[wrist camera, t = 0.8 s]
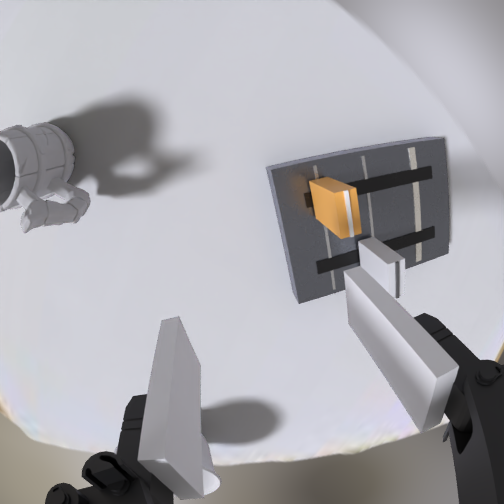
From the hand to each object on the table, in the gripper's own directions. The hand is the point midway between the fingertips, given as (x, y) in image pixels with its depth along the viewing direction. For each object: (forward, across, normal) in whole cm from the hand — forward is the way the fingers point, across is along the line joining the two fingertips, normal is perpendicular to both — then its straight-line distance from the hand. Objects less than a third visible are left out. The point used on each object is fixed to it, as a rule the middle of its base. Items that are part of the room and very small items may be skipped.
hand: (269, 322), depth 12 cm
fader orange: (+17, +8, 0) cm, 18 cm away
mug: (+19, -16, +10) cm, 27 cm away
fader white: (+17, +12, -7) cm, 22 cm away
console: (+19, +14, -4) cm, 24 cm away
